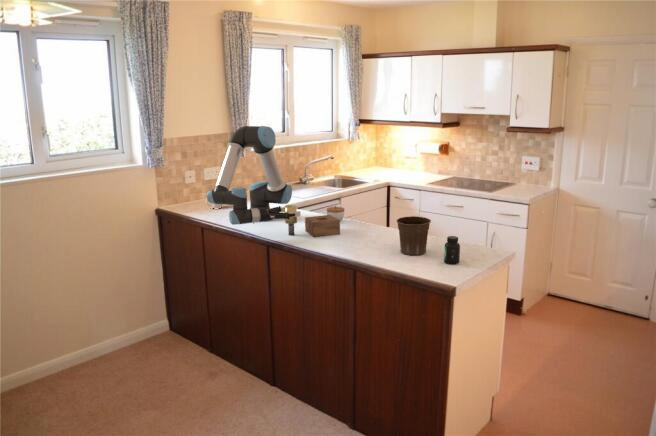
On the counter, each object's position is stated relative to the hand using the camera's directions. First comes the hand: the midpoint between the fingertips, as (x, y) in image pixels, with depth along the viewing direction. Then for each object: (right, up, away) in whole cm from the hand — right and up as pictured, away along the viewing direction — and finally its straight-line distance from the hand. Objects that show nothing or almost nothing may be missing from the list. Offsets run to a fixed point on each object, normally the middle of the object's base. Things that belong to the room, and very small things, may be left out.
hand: (296, 211), depth 295 cm
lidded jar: (+22, -6, +30) cm, 38 cm away
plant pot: (+59, -21, -33) cm, 71 cm away
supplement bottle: (+74, -24, -49) cm, 92 cm away
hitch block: (+14, -12, +5) cm, 19 cm away
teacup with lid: (-60, +3, +71) cm, 93 cm away
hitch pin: (-3, -13, +2) cm, 13 cm away
